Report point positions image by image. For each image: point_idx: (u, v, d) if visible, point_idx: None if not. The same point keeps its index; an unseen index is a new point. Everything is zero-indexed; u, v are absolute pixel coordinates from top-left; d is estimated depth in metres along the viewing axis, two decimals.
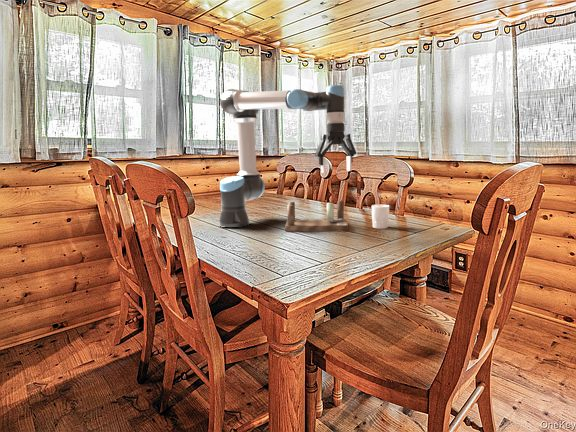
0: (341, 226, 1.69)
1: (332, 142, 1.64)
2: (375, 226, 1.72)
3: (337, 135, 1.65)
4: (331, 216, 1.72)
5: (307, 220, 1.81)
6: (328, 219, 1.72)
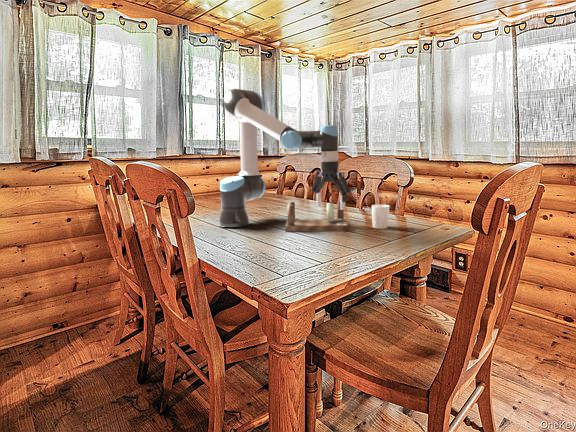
0: (341, 226, 1.69)
1: (322, 179, 1.71)
2: (375, 226, 1.72)
3: (328, 173, 1.69)
4: (331, 216, 1.72)
5: (307, 220, 1.81)
6: (328, 219, 1.72)
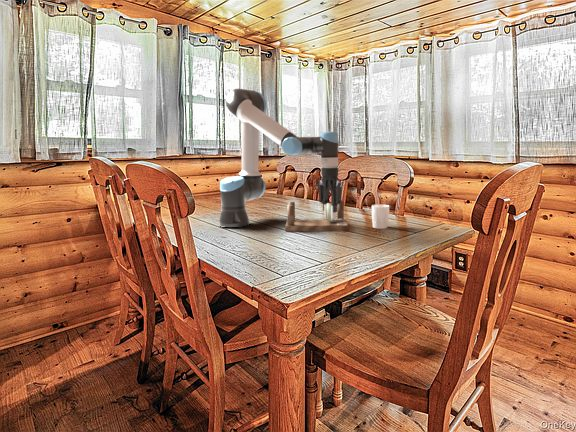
0: (341, 226, 1.69)
1: (324, 187, 1.71)
2: (375, 226, 1.72)
3: (328, 179, 1.69)
4: None
5: (307, 220, 1.81)
6: (328, 219, 1.72)
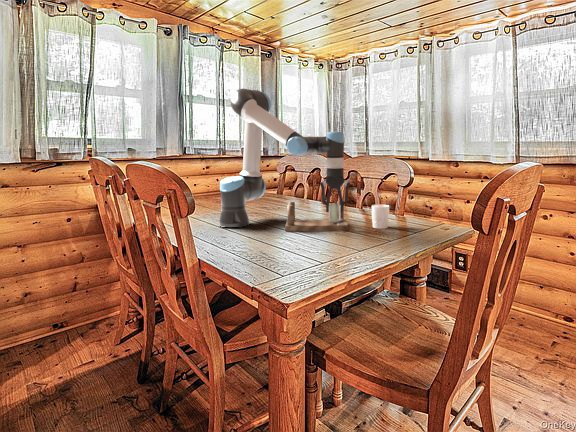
0: (341, 226, 1.69)
1: (330, 187, 1.68)
2: (375, 226, 1.72)
3: (335, 180, 1.67)
4: (336, 217, 1.70)
5: (307, 220, 1.81)
6: (333, 220, 1.70)
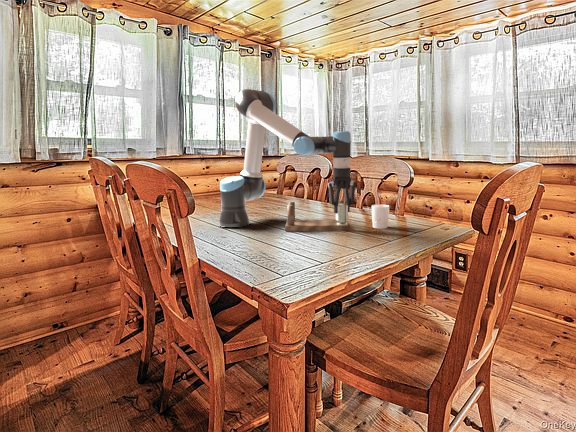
0: (341, 226, 1.69)
1: (340, 188, 1.66)
2: (375, 226, 1.72)
3: (343, 180, 1.66)
4: None
5: (307, 220, 1.81)
6: (343, 220, 1.69)
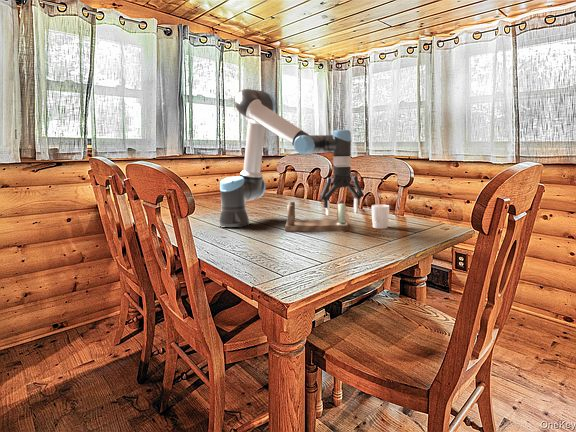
0: (341, 226, 1.69)
1: (337, 185, 1.65)
2: (375, 226, 1.72)
3: (343, 178, 1.66)
4: (345, 217, 1.70)
5: (307, 220, 1.81)
6: (343, 220, 1.69)
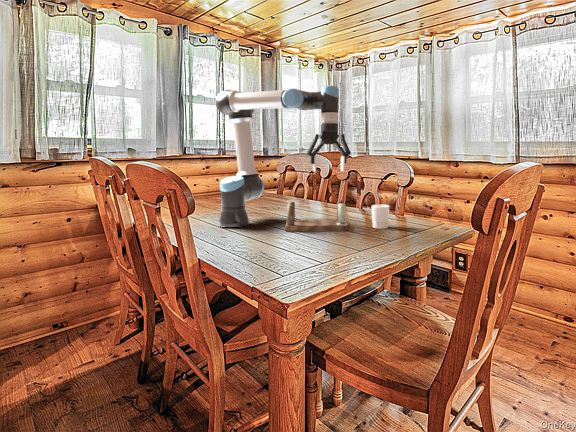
0: (341, 226, 1.69)
1: (324, 142, 1.67)
2: (375, 226, 1.72)
3: (330, 135, 1.68)
4: (345, 217, 1.70)
5: (307, 220, 1.81)
6: (343, 220, 1.69)
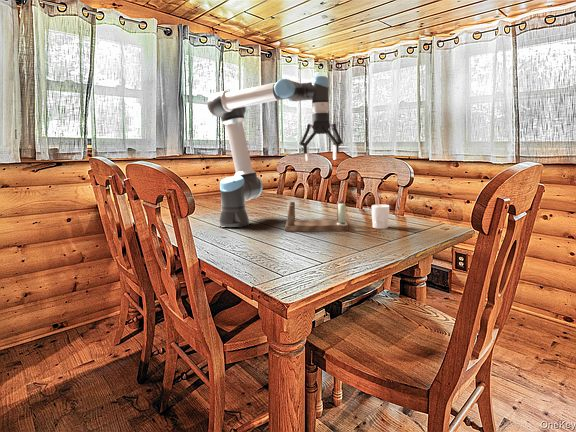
0: (341, 226, 1.69)
1: (316, 131, 1.70)
2: (375, 226, 1.72)
3: (322, 125, 1.71)
4: (345, 217, 1.70)
5: (307, 220, 1.81)
6: (343, 220, 1.69)
